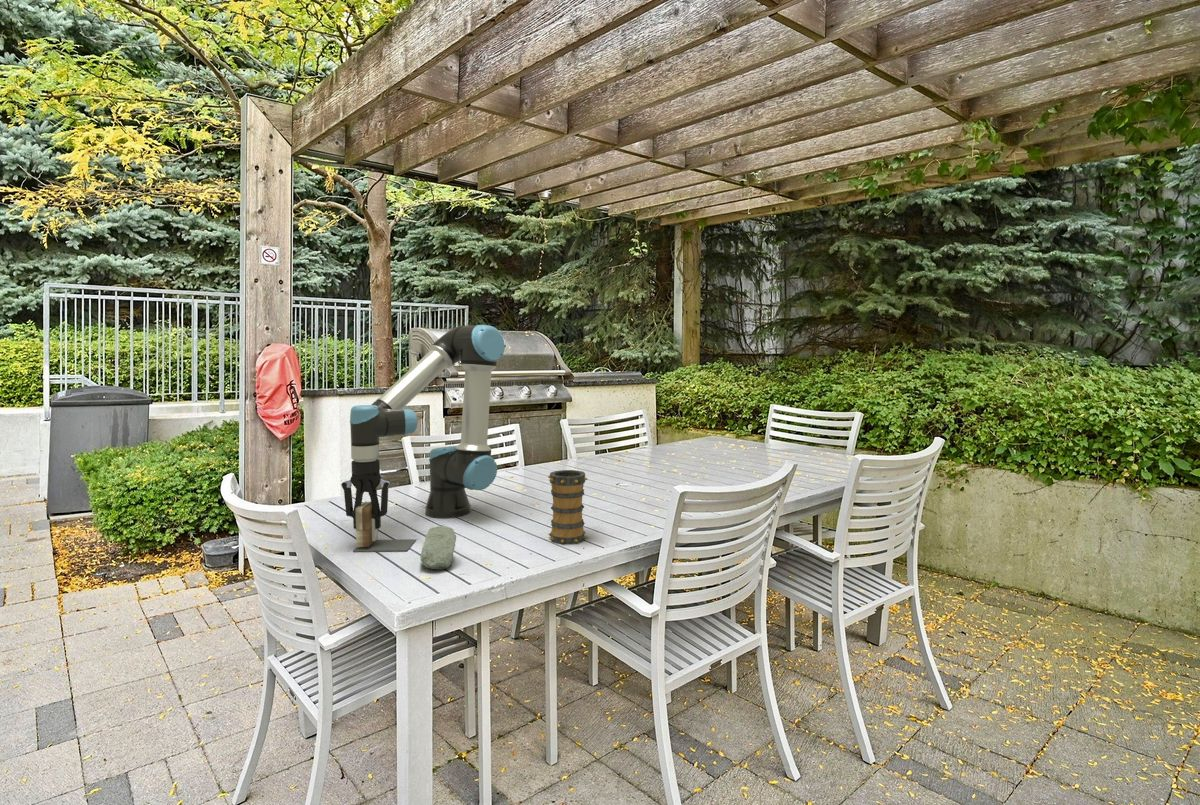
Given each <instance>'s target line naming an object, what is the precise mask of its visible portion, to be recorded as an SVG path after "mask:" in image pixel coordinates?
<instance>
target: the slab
mask: <svg viewBox="0 0 1200 805" xmlns="http://www.w3.org/2000/svg"><path fill="white" fill-rule="evenodd" d="M373 517H374V513H373V508H372V504H371V501H364V502H362V504H361V505H360V506H358V507H357V508H356V529H355V539H356V542H355V544H356V545H355V546H356V547H355V548H357V547H369V546H370V545H371V544H373V543H374V542H375V541H372V518H373Z"/></svg>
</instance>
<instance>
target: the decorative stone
mask: <svg viewBox="0 0 1200 805" xmlns="http://www.w3.org/2000/svg"><path fill="white" fill-rule="evenodd" d="M424 538H425V539H424V542H423V545H422V548H421V551H420V552H421V553H420V561H421V562H422V565H423V566H425V567H426V568H428V569H433V570H445V569H448V568H449V567H451V565H452V562H453V558H454V552H455V547H456V541H457V534H456V533H455V530H454V529H453V528H452V527H449V526H447V525H444V524H443V525H442V524H441V525H438V526H434V527H431V528H429V529H428V530H427V532H426V534H425V537H424Z"/></svg>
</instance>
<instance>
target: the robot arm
mask: <svg viewBox="0 0 1200 805" xmlns="http://www.w3.org/2000/svg"><path fill="white" fill-rule="evenodd" d="M505 344H506V343H505V340H504V337H503V334H502V333H501V332H500V331H499V329H497V328H496V327H495V326H492V325H487V324H476V325H475V324H474V325H473V324H472V325H458V326H455V327H453V328H452V329H450V330H448V331H447V332H445V333H444V334H443V335H441V336H440V338H438V339H437V340H435V341H434V342H433V344H431V345H430V346H429V350H428V352H427V353H426V354H425V355H424V356H423V357H422V358H421V359H420V360H418V362H416V363H415V364H414V365H413V366H412V367H411V368H410V369H408V370H407V371H406V372H405V373H404V374H403V375H402V376H401V377H400V378H399V379H398V380H396V381H395V382H394V383H393V385H391V386H390V387H389V388H388V389H387V390H386V391H385V392H383V394H381V395H380V396H379V397H378V398H377V399H376V400H375V401H373V402H372V403H371V404H357V405H354V406H352V407H351V408H350V414H349V417H350V418H349V425H350V426H349V427H350V453H351V454H350V455H351V456H350V458H351V460H352V461H351V464H350V465H351V476H350V479H349V480H344V481H343V482H342V483H341V484H340V486H341V488H342V489H343V495H344V497H343V498H344V504H345V505H344V506H345V515H346V516H347V517H350V518H352V519H353V520H352V522H353V524H352V525H353V529H354V530H356V508H357V507H358V506H360V505H361V504H363V502H362V501H363V496H364V493H368V496H369V498H370V502H371V504H372V508H373V513H374V517H373V518H372V541H376V540H379V529H380V528H381V527H382V523H381V522H382V519H381V518H382V517H384V516H385V515H387V514H388V509H389V508H388V504H389V501H388V500H389V488H390V485H391V481H390V480H385V479H383V478H382V477H381V474H380V473H381V472H380V471H381V470H380V469H381V467H380V464H381V463H380V461H381V460H379V458H380V438H384V437H394V436H405V435H410V434H413V433H415V432H416V430H417V428H418V423H419V422H418V416H417V414H416V412H415V411H414V410H412V409H410V408H407V409H406V406H407V405H408V404H409V403H410V402H411V401H412V400H413V399H414V398H415V397H416V396H418V395H419V394H420V393H421V392H423V390H424V389H425V388H426V387H427V386H428V385H429V384H430V383H431V382H432V381H434V379H435V378H437V377H438V376H439V375H440V374H441V373H442V372H443V371H444V370H446V369H450V368H451V367H453V366H454V365H455V364H457V363H459V362H460V365H461V367H462V369H463V370H464V382H463V383H464V384H463V400H462V415H461V416H462V417H461V418H462V420H461V432H460V433H461V434H460V442H459V444H458V445H451V446H450V445H449V446H441V447H436V448H432V449H431V450H430V452H429V459H428V461H429V481H430V482H429V483H430V484H429V487H430V489H429V490H430V491H429V494H428V498H427V501H426V505H425V507H424V508H425V515H426V516H428V517H431V518H436V519H437V518H439V519H442V518H443V519H446V518H447V519H449V518H457V517H463V516H465V515H467V514H469V513H470V512H471V504H470V501H469V498H468V495H467V493H466V489H467V490H469V491H470V490H471V491H474V490H475V491H483V490H486V489H487V488H488V487H490V486H491V484H492V483H494V481H495V479H496V477H497V474H498V464H497V462H496V461H495V459H494V458H493V457H492V448H491V447H490V446H489V445H488V437H489V436H488V434H489V420H490V419H489V417H490V403H491V402H490V400H491V386H492V385H491V384H492V372H493V371H494V370H495V369H497V364H498V362H497V361H498V360H500V359H501V358H502V356H503V355H504V352H505V349H506V346H505ZM404 408H405V409H404ZM379 485H380V488H381V491H380V492H381V494H380V497H381V498H380V501H379V498H378V491H377V488H378V486H379ZM352 486H353V487H354V488H355V500H354V503H353V494H352V493H353V492H352ZM379 502H380V503H379Z"/></svg>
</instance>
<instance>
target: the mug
mask: <svg viewBox="0 0 1200 805" xmlns="http://www.w3.org/2000/svg"><path fill="white" fill-rule="evenodd" d="M586 476H587V475H586V472H584V471H581V470H575V469H561V470H555V471H552V472H550V473H549V475H548V476H547V478H549V479H548V481H549V484H551V489H550V493H551V496H552V506H550V510H552V519H551V520H550V522H551V524H550V525H551V531H550V533H547V535H548V536H549V538H548V540H550V541H551V543H554V544H556V545H557V544H558V545H576V544H579V543H582V542H585V540H586V539H588V538H589V537H588V536H586V531H585V530H584V525H585V522H584V519H583V510H584V508H585V506H584V504H583V496H584V495H585V489H584V484H585V483H586V481H587V480H588V481H589V478H588V477H586Z"/></svg>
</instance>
